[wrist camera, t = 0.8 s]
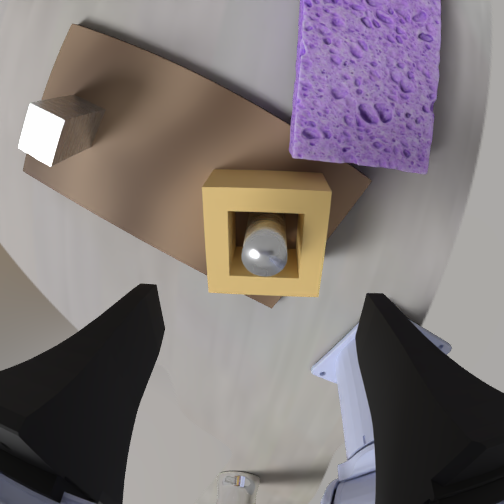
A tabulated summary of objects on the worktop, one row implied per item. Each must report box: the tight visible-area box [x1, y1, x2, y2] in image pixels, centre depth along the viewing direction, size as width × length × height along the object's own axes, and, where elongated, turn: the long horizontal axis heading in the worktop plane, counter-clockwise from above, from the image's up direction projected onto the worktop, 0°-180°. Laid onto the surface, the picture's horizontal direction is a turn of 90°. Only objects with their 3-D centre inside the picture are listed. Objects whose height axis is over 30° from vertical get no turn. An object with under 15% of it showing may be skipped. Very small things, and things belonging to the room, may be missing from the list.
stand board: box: [18, 24, 371, 308], centre depth 15 cm, size 19×10×5 cm, turn 59°
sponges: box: [289, 0, 441, 174], centre depth 12 cm, size 7×13×2 cm, turn 177°
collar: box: [202, 169, 332, 297], centre depth 16 cm, size 6×6×3 cm
